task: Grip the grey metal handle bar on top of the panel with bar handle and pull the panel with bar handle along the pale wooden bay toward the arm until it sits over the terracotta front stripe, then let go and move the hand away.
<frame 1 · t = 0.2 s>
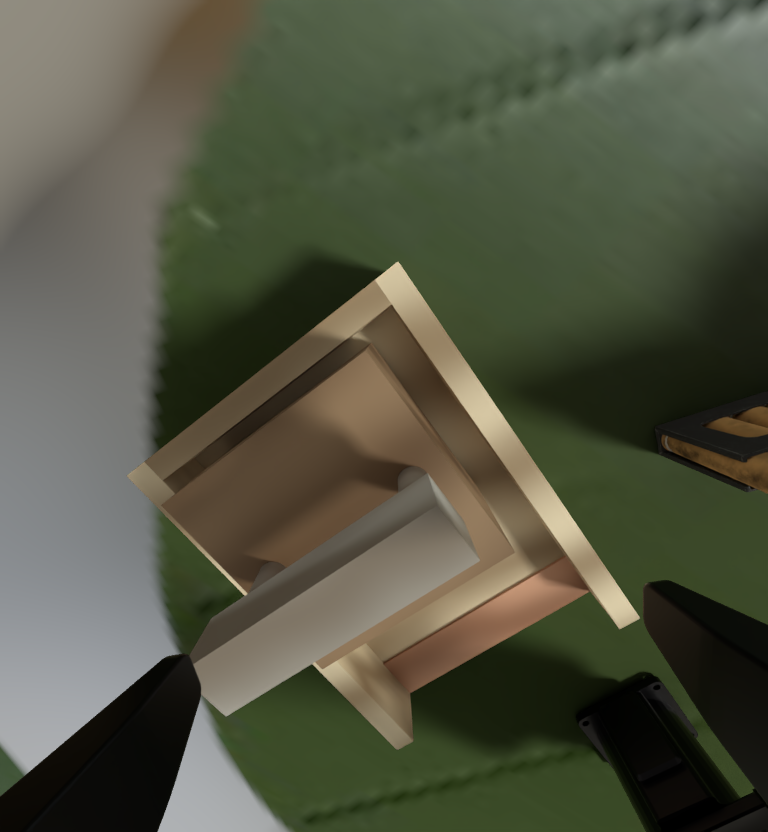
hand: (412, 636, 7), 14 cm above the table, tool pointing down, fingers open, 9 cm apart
bay: (395, 511, 22), on the table
ammunition clip: (746, 410, 21), on the table
panel with bar handle: (343, 519, 15), point 6 cm above the table, slide at 0.0 cm
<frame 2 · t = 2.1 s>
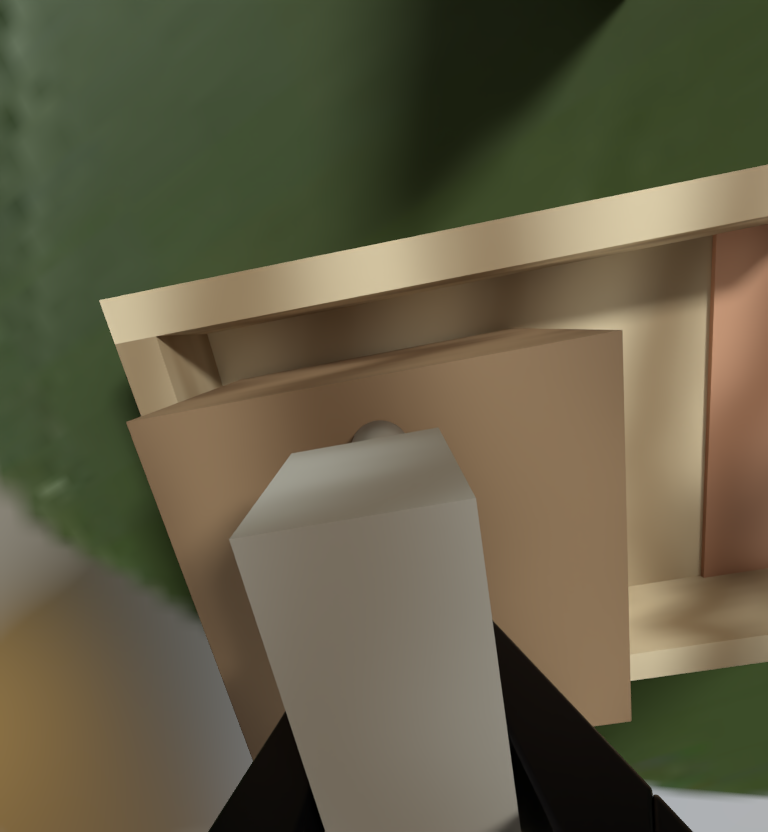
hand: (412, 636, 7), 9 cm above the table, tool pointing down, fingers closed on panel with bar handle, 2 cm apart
bay: (490, 452, 15), on the table
panel with bar handle: (406, 567, 9), point 6 cm above the table, slide at 0.0 cm, touching gripper
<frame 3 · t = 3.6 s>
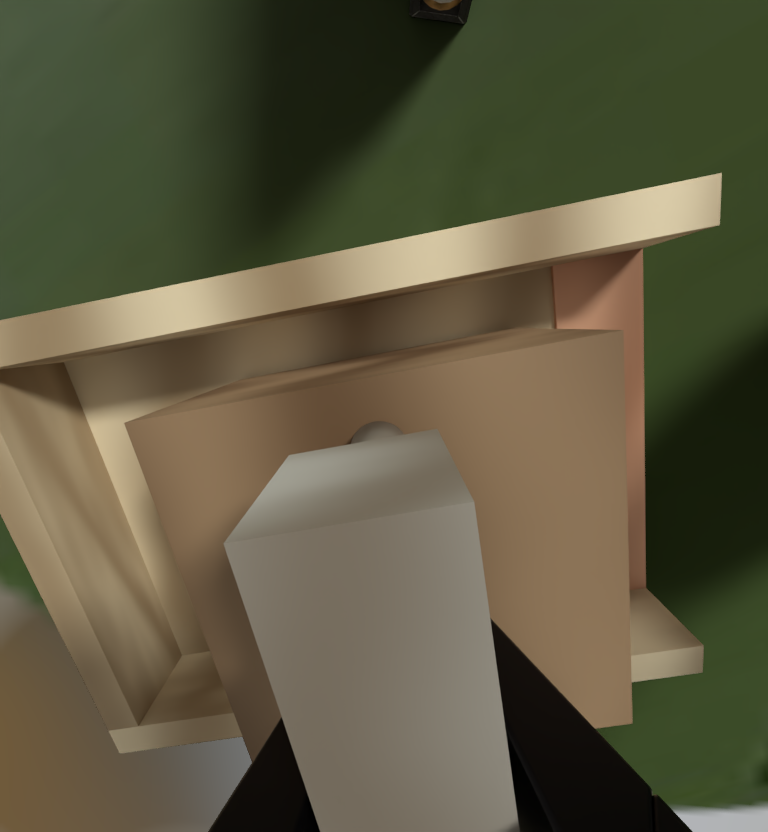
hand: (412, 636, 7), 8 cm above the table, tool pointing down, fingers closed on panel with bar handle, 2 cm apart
bay: (363, 474, 15), on the table
panel with bar handle: (406, 569, 9), point 6 cm above the table, slide at 5.5 cm, touching gripper
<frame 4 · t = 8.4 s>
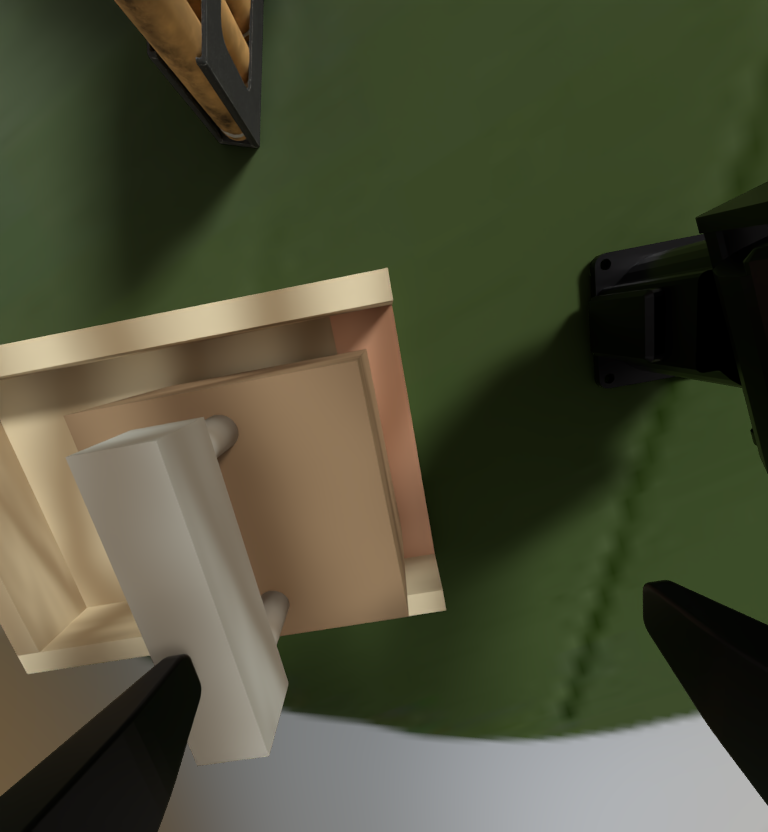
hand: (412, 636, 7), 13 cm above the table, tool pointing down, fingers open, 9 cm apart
bay: (219, 467, 20), on the table
ammunition clip: (243, 4, 15), on the table
panel with bar handle: (256, 513, 14), point 6 cm above the table, slide at 8.4 cm
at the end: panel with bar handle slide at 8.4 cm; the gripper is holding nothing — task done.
